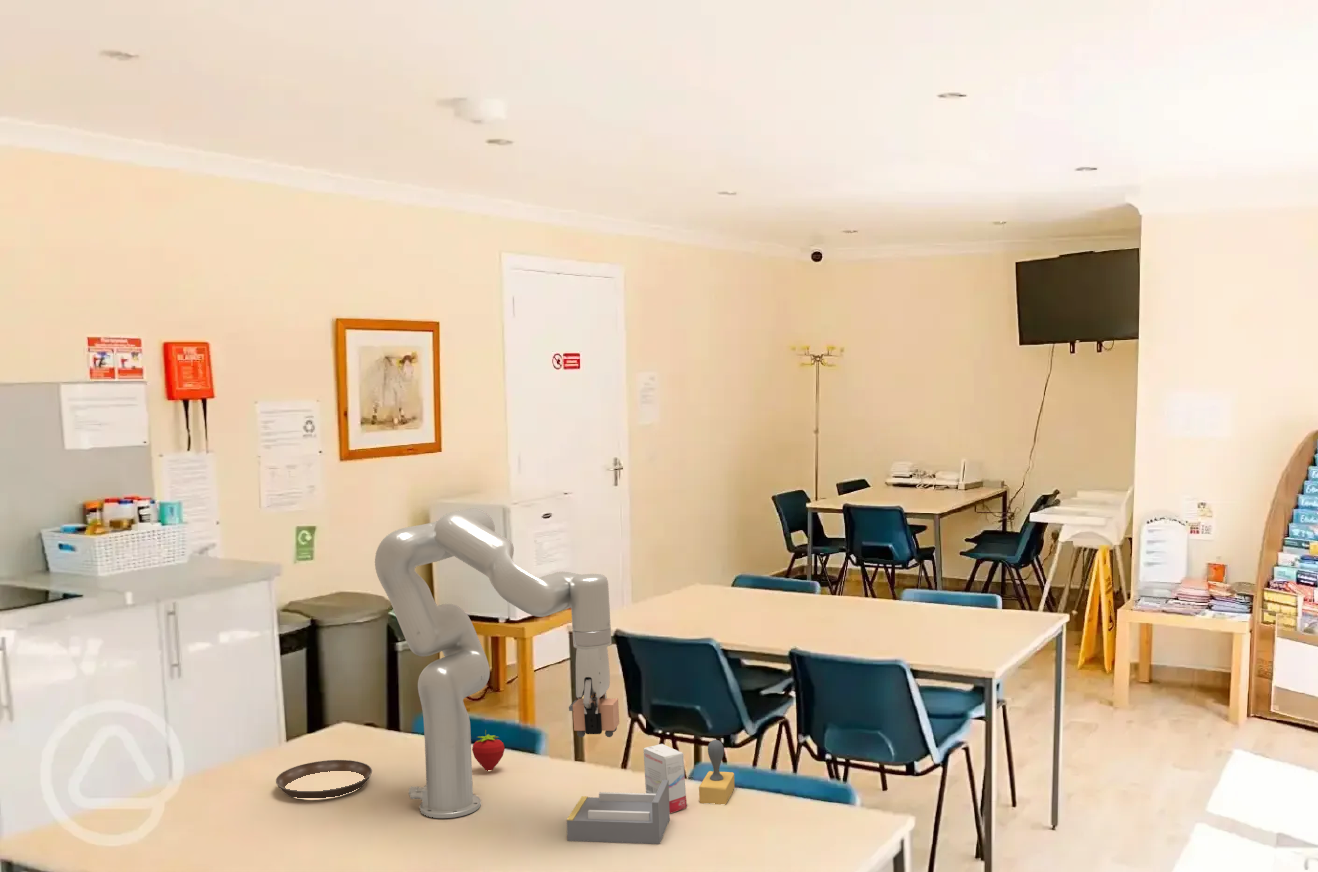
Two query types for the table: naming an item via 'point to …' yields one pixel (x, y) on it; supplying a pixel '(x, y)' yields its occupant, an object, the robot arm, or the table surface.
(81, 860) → the table surface
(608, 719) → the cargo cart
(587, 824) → the loading dock
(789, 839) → the table surface
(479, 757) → the strawberry
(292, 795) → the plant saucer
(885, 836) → the table surface
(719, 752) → the rubber stamp
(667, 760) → the ink box
